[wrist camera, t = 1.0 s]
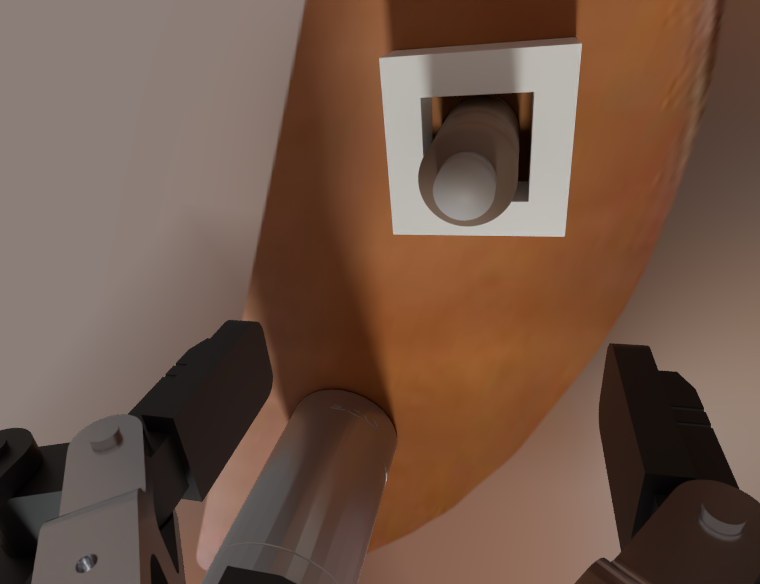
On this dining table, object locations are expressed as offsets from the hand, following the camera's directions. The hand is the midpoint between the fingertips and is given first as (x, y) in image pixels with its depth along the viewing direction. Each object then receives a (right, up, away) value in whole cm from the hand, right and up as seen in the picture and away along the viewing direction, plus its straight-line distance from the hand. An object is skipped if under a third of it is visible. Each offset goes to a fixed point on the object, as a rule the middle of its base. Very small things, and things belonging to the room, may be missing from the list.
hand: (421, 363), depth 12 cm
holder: (+5, +11, +18) cm, 22 cm away
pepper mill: (+5, +11, +18) cm, 22 cm away
